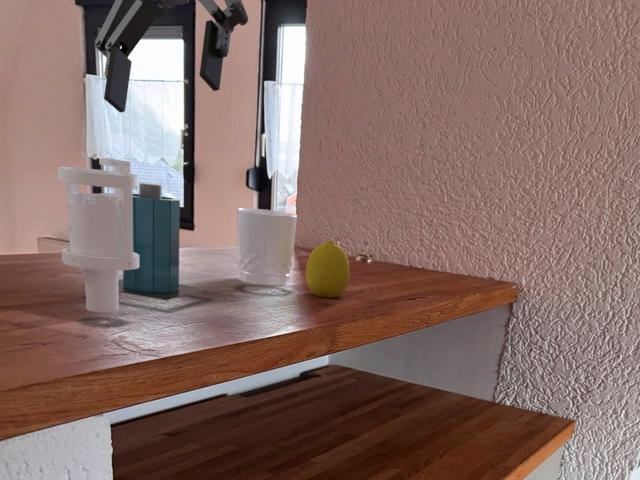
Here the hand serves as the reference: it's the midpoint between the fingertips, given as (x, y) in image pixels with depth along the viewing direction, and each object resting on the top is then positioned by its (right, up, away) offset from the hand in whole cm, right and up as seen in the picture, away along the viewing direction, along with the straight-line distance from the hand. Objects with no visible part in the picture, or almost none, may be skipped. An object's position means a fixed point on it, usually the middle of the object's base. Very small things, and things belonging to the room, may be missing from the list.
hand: (160, 94), depth 83 cm
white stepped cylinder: (-3, -28, -11) cm, 30 cm away
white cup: (+10, -18, +16) cm, 26 cm away
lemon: (+18, -21, +11) cm, 30 cm away
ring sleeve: (-2, -22, +2) cm, 22 cm away
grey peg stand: (-2, -23, +2) cm, 23 cm away
